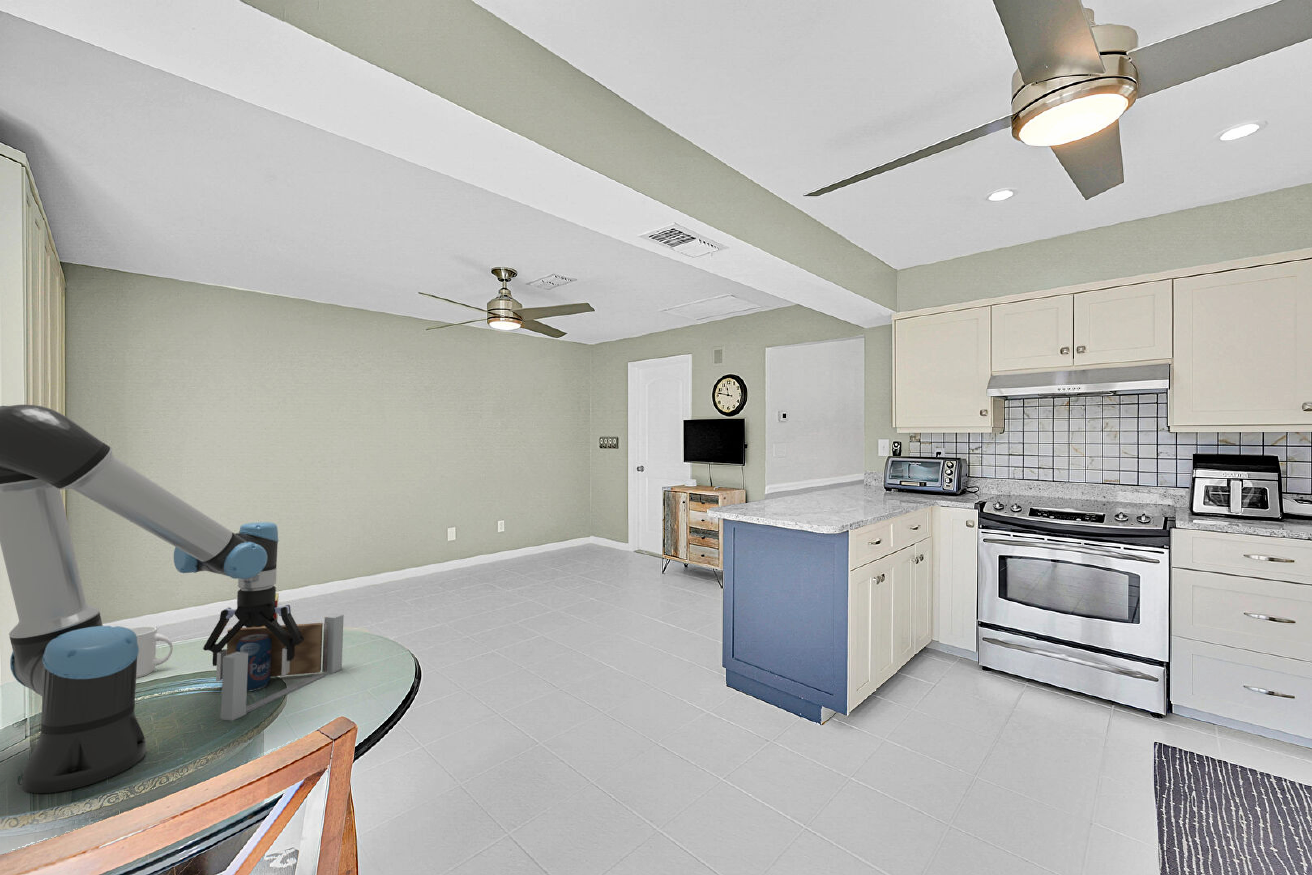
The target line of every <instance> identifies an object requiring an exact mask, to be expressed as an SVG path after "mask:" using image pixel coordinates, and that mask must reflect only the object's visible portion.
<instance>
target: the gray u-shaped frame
mask: <svg viewBox="0 0 1312 875" xmlns="http://www.w3.org/2000/svg"><path fill="white" fill-rule="evenodd" d="M344 617H345V616H344V614H339V613H333V614H329V615H326V616H324V623H328V650H327V671H326V672H325V673H326V674H327V673H328V674H334V673H336V672H338V671H341V670H342V669H343V643H344ZM247 671H248V653H243V652H235V653H232V654H229V655H226V656H224V657H223V676H222V680H221V681H222V682H221V705H220V706H221V707H220V720H223V721H231V722H233V721H235V720H237V719H240V718H241V717H244V716H245V715H246V714H248V713H250V712H253V711H254V710H257V709H259V708H262V707H264V706H265V705H268V704H269V703H271V701H272V702H273V701H276V700H278V699H280V698H282V697H284V696H287V695H289V694H290V693H294V692H295V691H296V690H300V689H302V688H304V687H305V686H307V685H309V684H310V685H311V684H312V683H314V682H315V681H318V680H320V679H322V678H324V677H326V674H320V673H315V674H314V675H312V676H310V677H308V678H306V679H303V680H301V681H299V682H297V683H295V684H293V685H290V686H288V687H286V688H283V689H282V690H279V691H277V692H275V693H273V694H270V695H269V696H266V697H265V698H262V699H259V700H258V701H255V702H253V703H251V704H249V705H247V696H248V695H247V693H248V692H247Z"/></svg>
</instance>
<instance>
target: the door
mask: <svg viewBox="0 0 1312 875" xmlns="http://www.w3.org/2000/svg"><path fill="white" fill-rule="evenodd" d="M296 624H297V626H298V628H299V630H300V632H301V634H302V636H303V638H304V640H303V641H302V642H301V643H300V644H299V645H295V652H294V658H293V659H292V660H291V661H290V671H289V673H288V674H287V675H286V676H295V675H307V674H320V672H322V673H326V671H327V650H328V623H325V622H324V623H323V622H314V623H296ZM280 625H281V626H282V627H283V629H284V630H285V631H286V632H287V633H288V634H289V635H290V633H289V632H288V630H287V628H286V626H285V624H283V625H282V624H280ZM232 628H233V627H231V628H229V629H228V630H227V633H228V632H229V631H230V630H231V629H232ZM253 633H268V634H269V637H270V639H271V641H272V647H271V674H270V678H273V677H282V676H281V675H282V649H283V648H284V647H286V646H285V645H284V644H283V643H282V642H281V641H280V640H279V639H278V638H277V637H276V636H275V635H274V634H273V632H272V631H271V630H270V629H268V628H266V627H265V626H262V627H250V628H246V627H242V628H241V629H240V630H239V631H238V632H237V633H236V634H235V636H234V637H233V638H232V639H231V640H230V641H229V642H228V643H227V644H226V649H227V655H229V654H232V653H235V652H236V646H237V644H238V642H239V641H240V640H239V639H240V637H242V636H245V635H248V634H253ZM290 636H291V635H290Z"/></svg>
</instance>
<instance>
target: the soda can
mask: <svg viewBox="0 0 1312 875" xmlns="http://www.w3.org/2000/svg"><path fill="white" fill-rule="evenodd" d="M239 640H240V641H239V642H238V644H237V646H236V652H243V653H248V671H247V691H249V692H251V691H250V690H255V691H257V690H256V689H258V690H261V689H263V688H265V687H266V686H267V685H268V683H269V682H270V680H271V677H270V674H271V647H272V641H271V639H270V637H269V634H268V633H253V634H248V635H245V636H242V637H240V639H239Z"/></svg>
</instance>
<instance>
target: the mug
mask: <svg viewBox="0 0 1312 875" xmlns="http://www.w3.org/2000/svg"><path fill="white" fill-rule="evenodd" d="M128 629H130V630H132V631H133V632H134V633H135V634H136V636H137V644H138V646H139V647H138V648H139V652H138V655H137V671H136V679H138V678H142V677H145V676H148V675H149V674H151V673H152V672H153V671H154V670H155V667H157V666H160V665H163V664H164V663H165V662H167V661H168V660H169V659H170V657H171V656H172V653H173V649H174V648H173V642H172V640H171V639H170V638H168V637H167V636H166V635H163V634H161V633H157V630H158V629H157V627H156V626H151V625H150V626H147V625H145V626H136V627H135V626H133V627H129V628H128ZM157 642H164V643H166V644H167V645H168V646H169V648H170V649H169V653H168V654H167V655H166V656H165V657H162V658H157V657H156V652H157V651H156V650H157Z"/></svg>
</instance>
